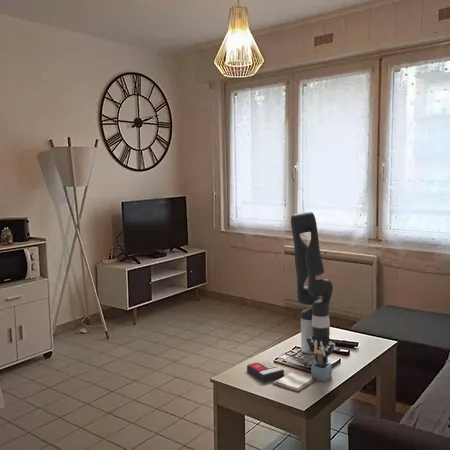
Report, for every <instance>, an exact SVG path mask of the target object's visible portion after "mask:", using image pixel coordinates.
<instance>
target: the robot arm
mask: <svg viewBox="0 0 450 450" xmlns="http://www.w3.org/2000/svg"><path fill="white" fill-rule="evenodd" d="M316 220H317V219H316V216H315V214H314V213H313V212H312V211H306V212H299V213H295V214H294V213H293V214H292V215H291V217H290V227H291V233H292V240H293V249H294V263H295V265H294V266H295V271H296V272H295V273H296V295H297V296H296V297H297V302H298V303H299V304H300V305H306V306H308V305H310V306H311V307H309V308H306V309H304V310H302V311H301V312H300V348H301V352H302V353H305V354H309V355H311V354H313V355H314V361H315V363H316V362H317V349H319V348H321V350H322V352H323V364H326V363H328V357H329V356H330V355H332V354H333V351H334V350H335V348H336V342H332V341H331V338H330V335H331V333H330V331H331V330H330V328H331V327H330V303H331V298H332V295H333V291H334V287H333V282H332V281H331V279H328V278H321V279H316V278H317V277H319V276H321V275H323V274H324V273H325V267H324V263H323V260H322V259H323V258H322V255H321V250H320V241H319V232H318V224H317V221H316ZM306 233H310V240H309V244H308V245H307V244H306V243H305V242H304V240H303V239H302V237H301V234H306ZM307 279H308V281H307ZM306 281H307V285H305V282H306ZM320 297H321V298H320ZM328 347H329V348H328Z"/></svg>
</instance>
